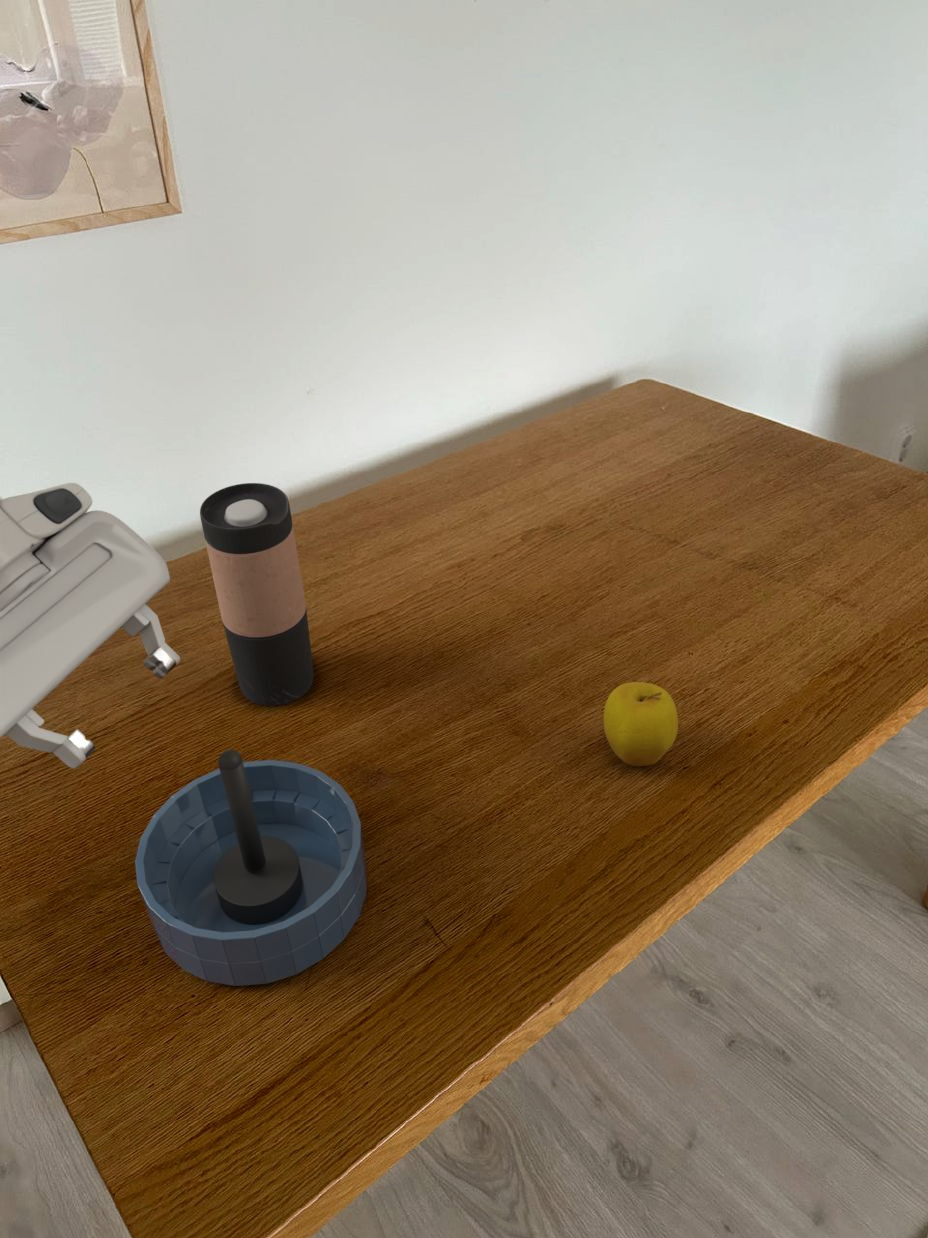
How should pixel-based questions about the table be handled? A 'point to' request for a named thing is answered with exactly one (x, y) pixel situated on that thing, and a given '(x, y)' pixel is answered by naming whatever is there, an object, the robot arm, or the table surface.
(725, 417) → the table surface
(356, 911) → the bowl
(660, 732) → the yellow fruit
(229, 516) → the travel mug
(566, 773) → the table surface
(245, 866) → the joystick
